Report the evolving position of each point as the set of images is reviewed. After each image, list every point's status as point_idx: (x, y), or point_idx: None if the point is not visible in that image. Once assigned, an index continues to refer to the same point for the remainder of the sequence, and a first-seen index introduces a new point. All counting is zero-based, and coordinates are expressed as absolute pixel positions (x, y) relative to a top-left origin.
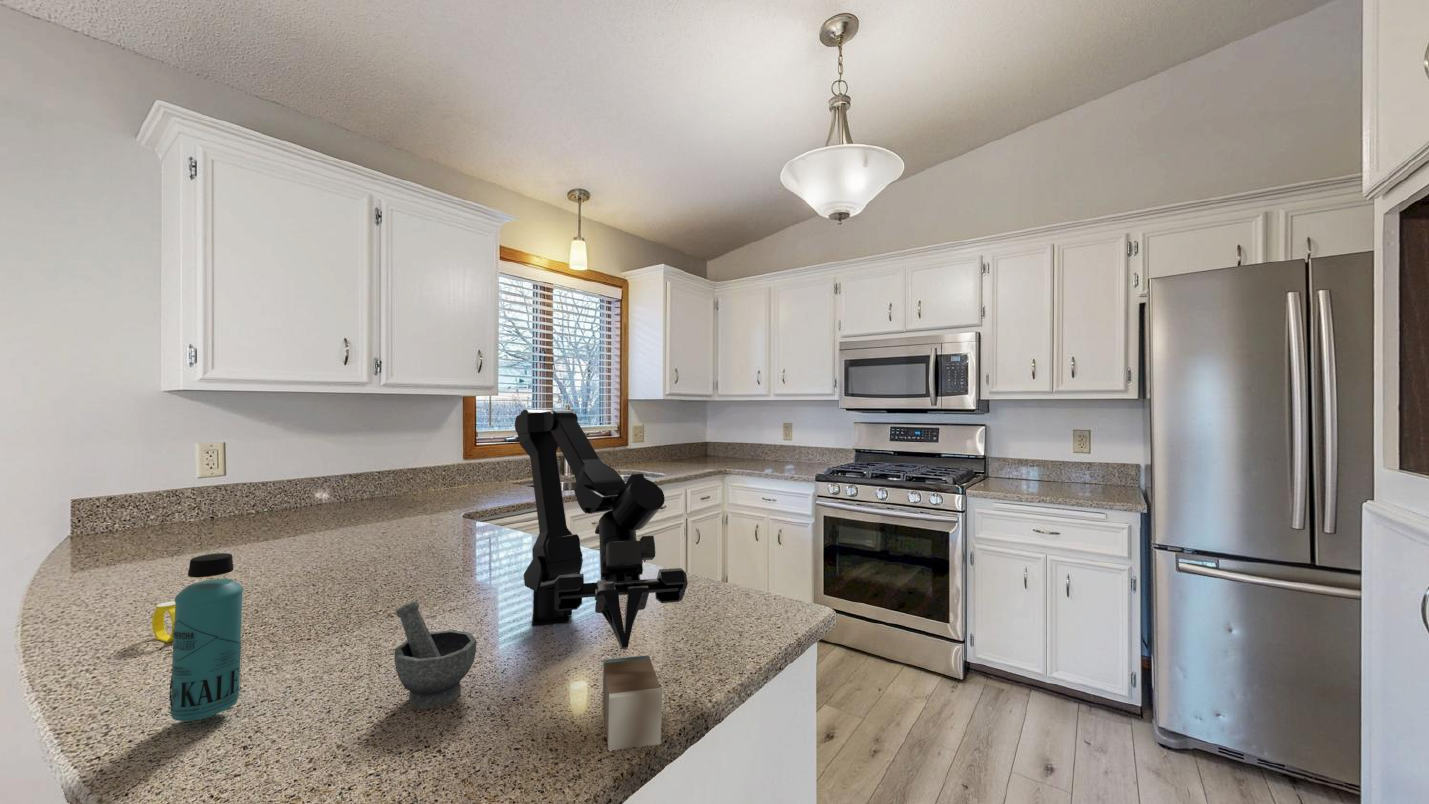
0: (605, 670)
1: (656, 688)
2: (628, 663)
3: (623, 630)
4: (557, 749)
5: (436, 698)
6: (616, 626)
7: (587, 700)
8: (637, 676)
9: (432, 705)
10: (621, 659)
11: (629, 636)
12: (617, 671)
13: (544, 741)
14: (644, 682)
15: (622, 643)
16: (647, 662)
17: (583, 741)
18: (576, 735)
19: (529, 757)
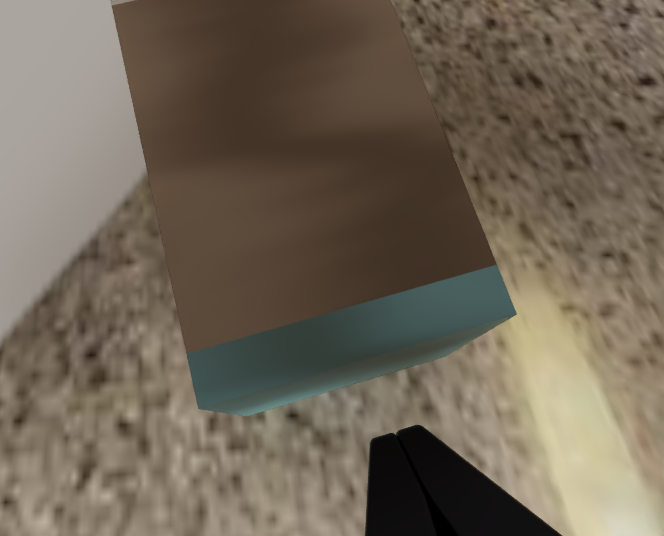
0: (456, 168)
1: (133, 2)
2: (331, 270)
3: (451, 513)
4: (515, 81)
5: None
6: (550, 527)
7: (526, 399)
8: (248, 110)
9: None
10: (391, 327)
11: (373, 491)
12: (379, 160)
13: (576, 118)
14: (201, 49)
15: (422, 435)
16: (202, 293)
17: (444, 122)
18: (480, 153)
19: (584, 44)
